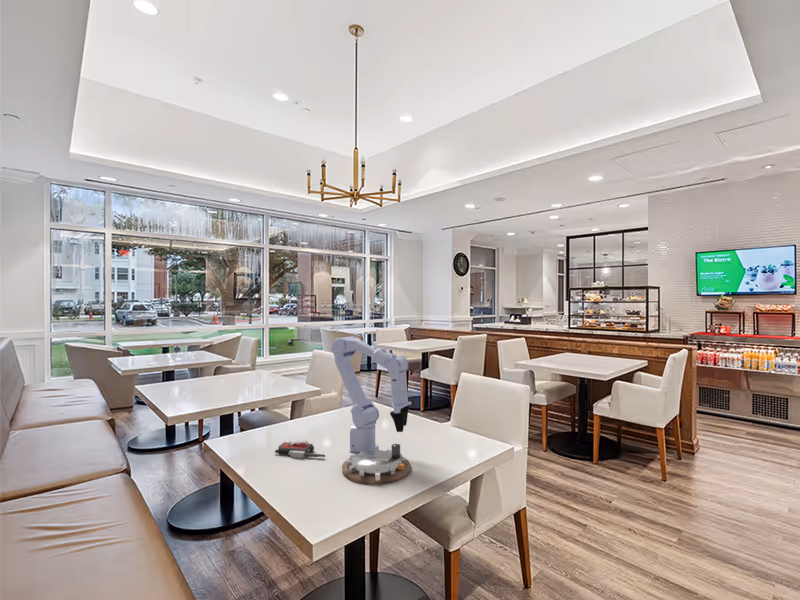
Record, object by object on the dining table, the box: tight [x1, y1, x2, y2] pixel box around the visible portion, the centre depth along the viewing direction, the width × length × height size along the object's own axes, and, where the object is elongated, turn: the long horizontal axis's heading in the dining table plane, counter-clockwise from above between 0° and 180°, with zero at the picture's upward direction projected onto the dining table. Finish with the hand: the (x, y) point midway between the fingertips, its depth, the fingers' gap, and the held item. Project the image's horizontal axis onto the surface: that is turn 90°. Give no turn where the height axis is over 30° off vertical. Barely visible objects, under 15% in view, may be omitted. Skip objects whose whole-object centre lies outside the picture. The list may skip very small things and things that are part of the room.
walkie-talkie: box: [274, 440, 326, 459], centre depth 149 cm, size 9×4×20 cm
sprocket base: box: [341, 456, 412, 486], centre depth 135 cm, size 23×23×3 cm
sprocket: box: [346, 443, 407, 477], centre depth 135 cm, size 20×20×6 cm
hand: (401, 428), depth 144 cm, fingers open, 7 cm apart
